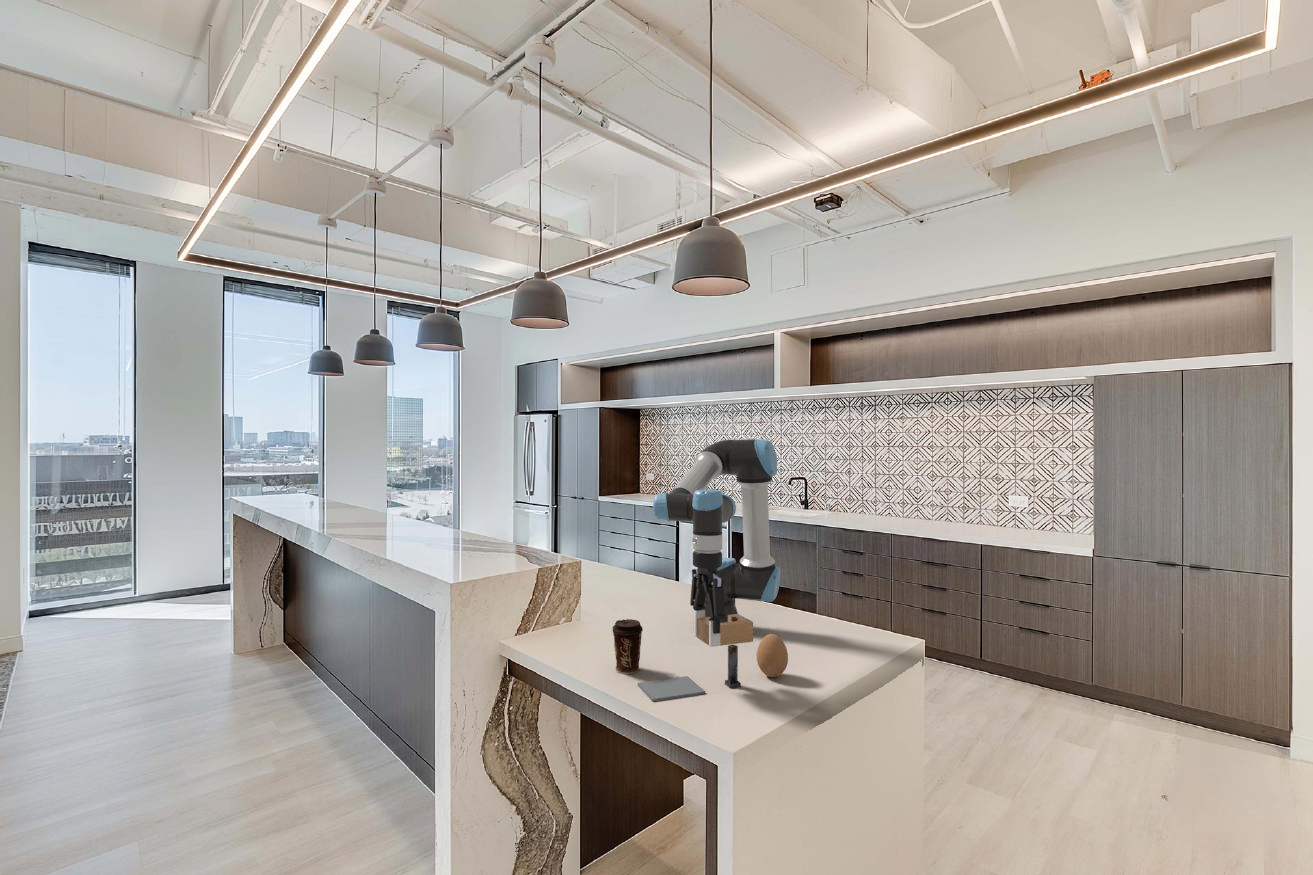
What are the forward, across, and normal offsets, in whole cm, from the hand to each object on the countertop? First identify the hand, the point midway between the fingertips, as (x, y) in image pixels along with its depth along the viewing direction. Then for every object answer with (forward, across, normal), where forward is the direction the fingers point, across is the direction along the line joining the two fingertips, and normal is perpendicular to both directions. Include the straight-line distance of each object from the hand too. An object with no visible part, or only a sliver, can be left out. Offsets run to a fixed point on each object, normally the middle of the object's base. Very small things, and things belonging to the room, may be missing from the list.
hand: (706, 640), depth 155 cm
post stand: (+12, 0, +7) cm, 14 cm away
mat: (+12, -3, -9) cm, 15 cm away
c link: (0, 0, +5) cm, 5 cm away
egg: (+12, -2, +20) cm, 24 cm away
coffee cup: (+12, -20, -14) cm, 28 cm away
